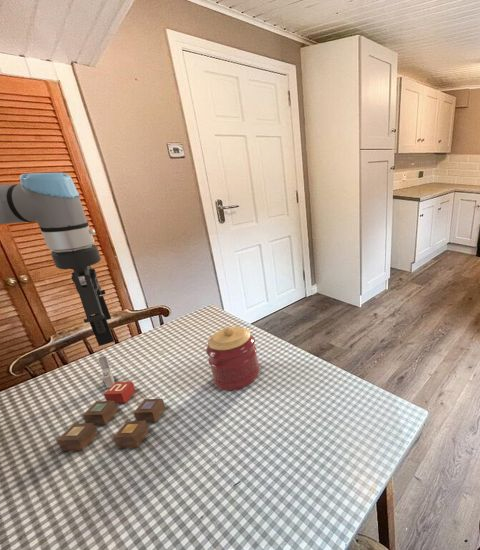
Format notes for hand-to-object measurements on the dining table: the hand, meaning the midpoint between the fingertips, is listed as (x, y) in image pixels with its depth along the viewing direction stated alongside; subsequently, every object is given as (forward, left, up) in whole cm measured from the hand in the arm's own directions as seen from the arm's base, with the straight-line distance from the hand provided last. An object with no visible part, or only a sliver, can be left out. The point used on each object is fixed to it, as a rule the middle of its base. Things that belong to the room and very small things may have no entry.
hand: (105, 331), depth 74 cm
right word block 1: (+8, -12, -23) cm, 27 cm away
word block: (-4, -12, -23) cm, 26 cm away
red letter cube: (-4, +2, -23) cm, 23 cm away
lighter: (-12, +9, -23) cm, 28 cm away
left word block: (-4, -5, -23) cm, 24 cm away
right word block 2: (+8, -5, -23) cm, 25 cm away
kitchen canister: (+25, +9, -23) cm, 35 cm away
